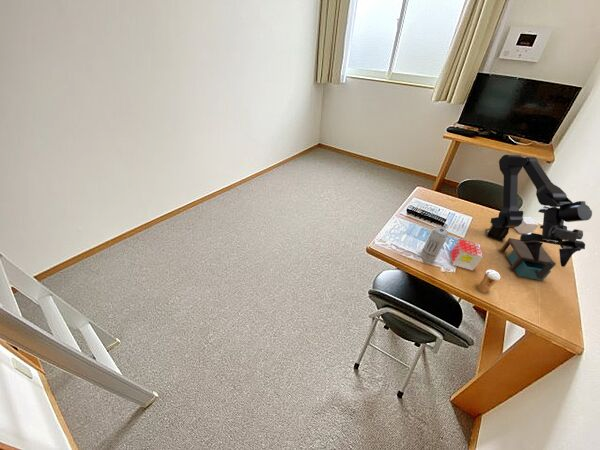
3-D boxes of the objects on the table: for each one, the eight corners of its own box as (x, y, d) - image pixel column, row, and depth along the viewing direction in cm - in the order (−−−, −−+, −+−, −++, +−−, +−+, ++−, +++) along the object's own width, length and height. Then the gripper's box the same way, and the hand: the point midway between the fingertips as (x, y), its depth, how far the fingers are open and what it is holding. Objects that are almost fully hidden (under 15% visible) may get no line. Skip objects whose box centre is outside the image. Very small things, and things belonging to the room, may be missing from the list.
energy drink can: (416, 257, 113) (430, 230, 104) (422, 250, 117) (436, 223, 108) (430, 265, 110) (446, 238, 101) (436, 258, 114) (451, 231, 104)
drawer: (507, 257, 118) (522, 237, 111) (529, 261, 117) (546, 241, 110) (522, 282, 106) (540, 262, 99) (546, 287, 106) (567, 267, 98)
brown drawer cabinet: (499, 250, 121) (509, 237, 116) (528, 255, 120) (539, 243, 115) (510, 270, 112) (521, 257, 107) (542, 276, 111) (554, 263, 106)
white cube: (512, 225, 137) (519, 216, 134) (523, 226, 137) (531, 217, 134) (519, 233, 133) (526, 223, 129) (531, 234, 133) (539, 224, 129)
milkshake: (471, 284, 104) (484, 266, 98) (484, 284, 105) (497, 266, 98) (478, 294, 100) (492, 276, 94) (491, 293, 101) (506, 276, 95)
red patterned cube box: (452, 264, 112) (460, 250, 107) (450, 252, 118) (459, 238, 113) (473, 270, 110) (482, 256, 105) (470, 257, 116) (479, 244, 111)
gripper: (544, 215, 96) (540, 259, 94) (601, 224, 94) (599, 269, 92) (521, 220, 107) (517, 259, 105) (572, 228, 105) (569, 268, 103)
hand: (549, 264), depth 101 cm, fingers open, 9 cm apart
